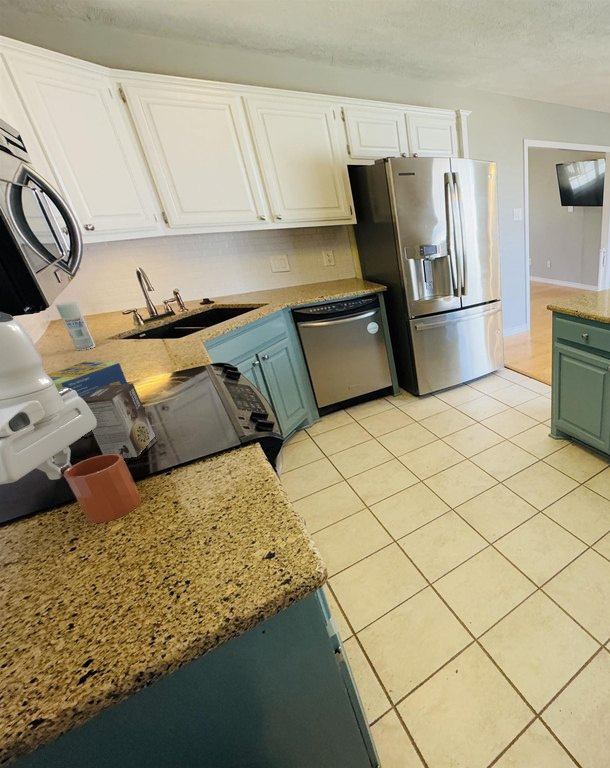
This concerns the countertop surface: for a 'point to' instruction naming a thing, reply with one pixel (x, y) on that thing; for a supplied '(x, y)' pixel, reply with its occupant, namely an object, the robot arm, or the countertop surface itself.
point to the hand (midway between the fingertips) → (61, 474)
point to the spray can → (75, 325)
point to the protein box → (88, 377)
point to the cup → (103, 487)
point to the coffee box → (119, 420)
